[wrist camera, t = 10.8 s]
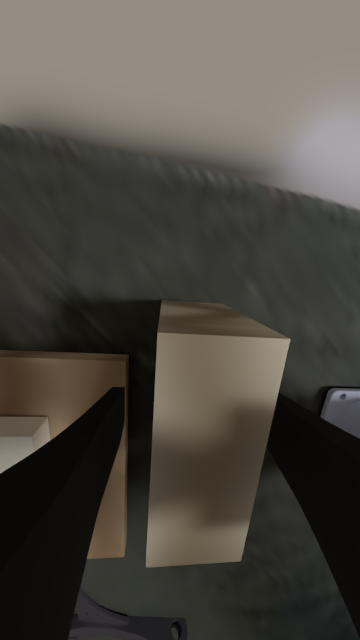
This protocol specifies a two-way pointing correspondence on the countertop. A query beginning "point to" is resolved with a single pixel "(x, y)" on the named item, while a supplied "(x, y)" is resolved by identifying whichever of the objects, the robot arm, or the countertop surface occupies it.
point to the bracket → (120, 624)
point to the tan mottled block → (209, 430)
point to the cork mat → (73, 418)
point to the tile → (21, 438)
